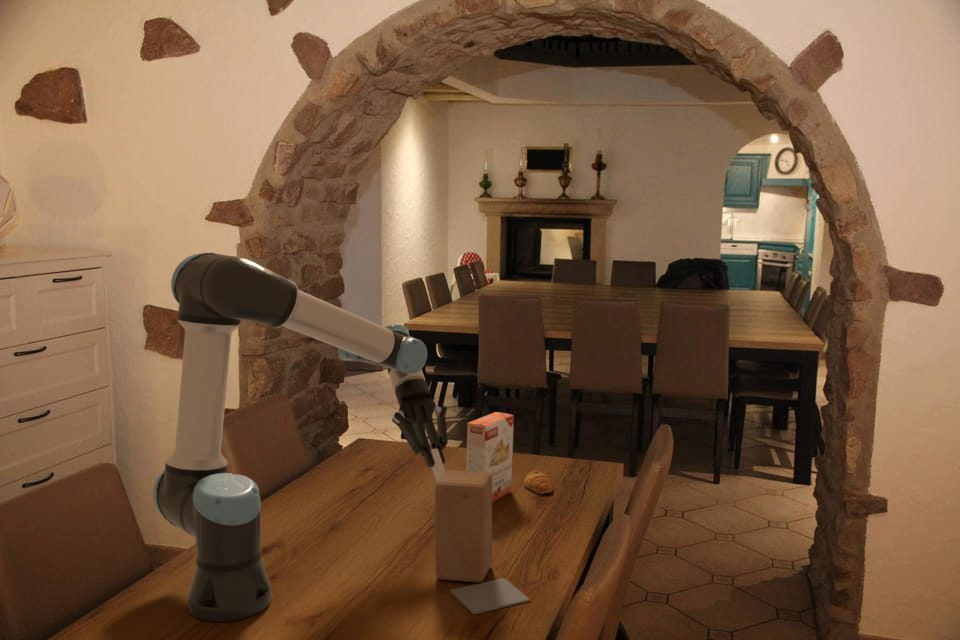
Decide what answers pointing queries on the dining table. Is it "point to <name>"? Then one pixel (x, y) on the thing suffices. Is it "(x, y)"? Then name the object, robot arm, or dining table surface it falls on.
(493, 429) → the cracker box
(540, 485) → the pastry
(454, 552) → the wooden block
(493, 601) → the felt pad
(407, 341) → the robot arm
